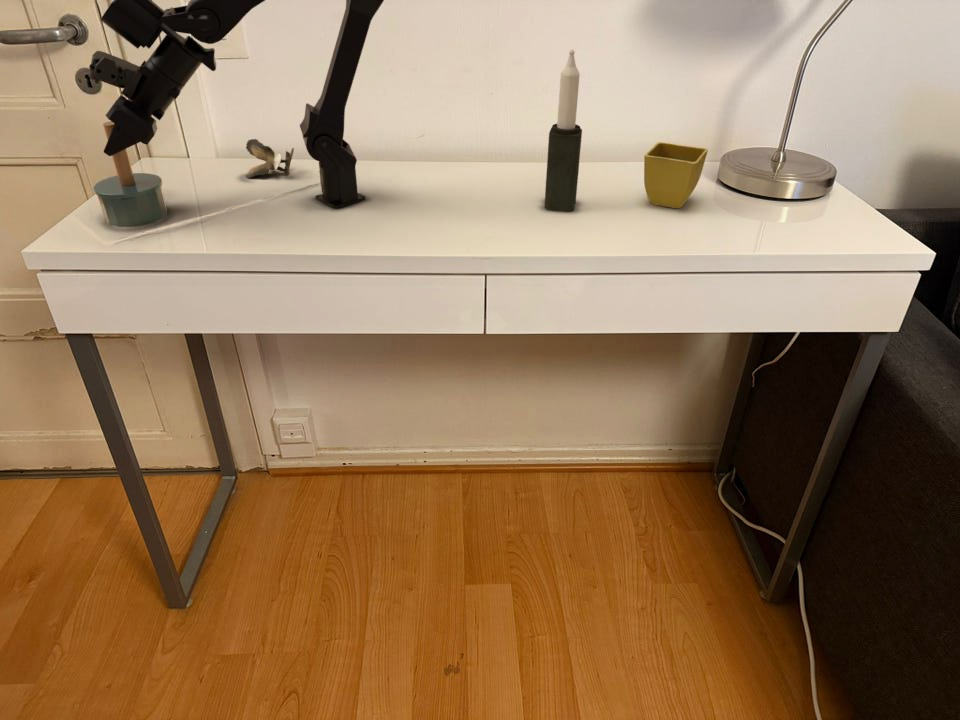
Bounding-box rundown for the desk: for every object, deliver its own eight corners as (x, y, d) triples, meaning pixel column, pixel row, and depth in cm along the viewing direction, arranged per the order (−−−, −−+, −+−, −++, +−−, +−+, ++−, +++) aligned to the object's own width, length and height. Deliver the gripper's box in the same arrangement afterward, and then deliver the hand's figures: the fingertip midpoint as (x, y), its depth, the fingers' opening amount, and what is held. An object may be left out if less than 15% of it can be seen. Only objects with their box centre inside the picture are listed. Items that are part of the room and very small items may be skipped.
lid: (176, 184, 113) (160, 117, 107) (134, 205, 105) (114, 135, 99) (126, 177, 116) (107, 111, 110) (80, 197, 108) (58, 128, 102)
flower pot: (636, 206, 120) (643, 154, 115) (650, 190, 126) (658, 140, 121) (687, 215, 117) (696, 162, 111) (699, 199, 123) (709, 148, 118)
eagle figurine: (295, 161, 134) (248, 153, 133) (293, 137, 128) (243, 127, 126) (287, 194, 131) (239, 185, 130) (284, 170, 124) (233, 161, 123)
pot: (177, 219, 113) (169, 187, 110) (120, 234, 108) (110, 202, 105) (153, 203, 119) (145, 173, 116) (98, 218, 113) (88, 186, 110)
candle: (573, 212, 117) (587, 53, 103) (543, 209, 118) (553, 51, 104) (576, 201, 121) (590, 47, 107) (547, 199, 122) (557, 45, 108)
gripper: (125, 20, 106) (69, 99, 110) (102, 42, 91) (39, 132, 95) (191, 73, 112) (136, 146, 116) (180, 101, 97) (117, 184, 101)
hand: (108, 150), depth 107 cm, fingers open, 3 cm apart
